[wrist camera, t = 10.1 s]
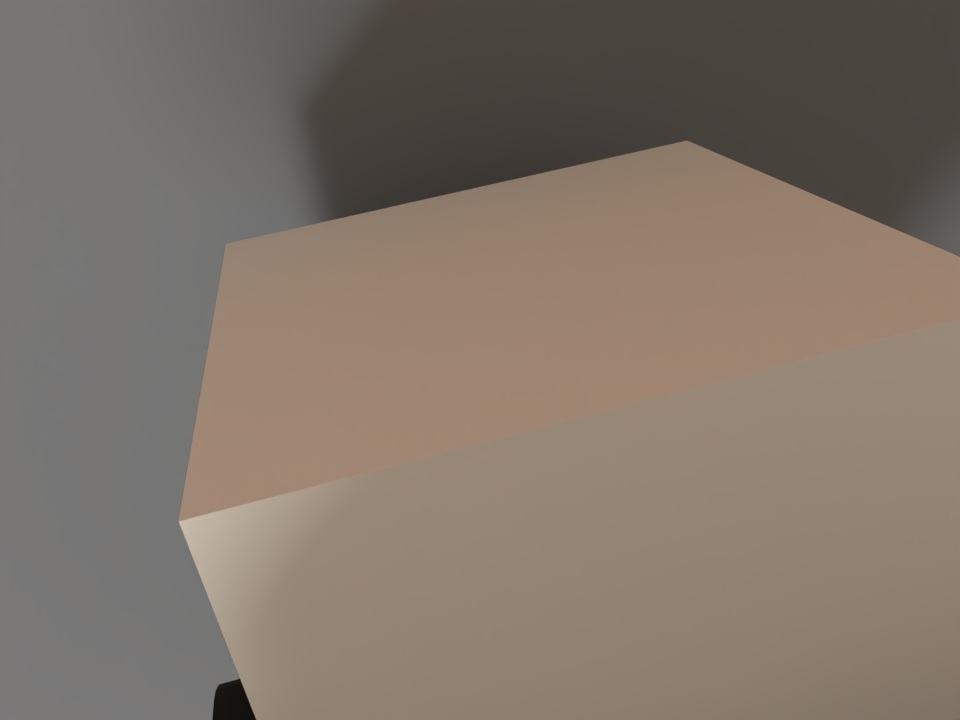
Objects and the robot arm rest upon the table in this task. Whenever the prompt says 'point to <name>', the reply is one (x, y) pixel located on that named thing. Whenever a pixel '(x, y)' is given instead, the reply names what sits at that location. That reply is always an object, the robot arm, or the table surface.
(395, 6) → the mat
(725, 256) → the card box
